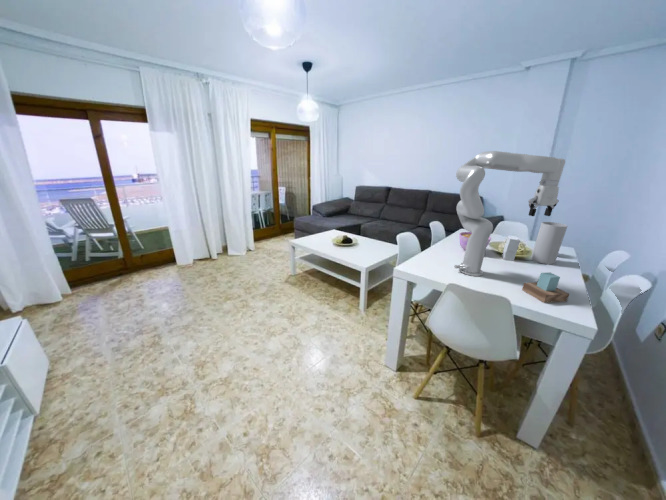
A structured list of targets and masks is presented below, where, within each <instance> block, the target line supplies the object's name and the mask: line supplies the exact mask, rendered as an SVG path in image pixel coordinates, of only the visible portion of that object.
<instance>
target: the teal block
mask: <svg viewBox="0 0 666 500" xmlns="http://www.w3.org/2000/svg"><path fill="white" fill-rule="evenodd" d="M560 279H561V276H559V275H557V274H555V273H552V272H540V275H539V277H538V280H537V282H538V283H537V286H538V287H539V288H541V289H543V290H545V291H555V290H556V288H558V284H559V282H560Z"/></svg>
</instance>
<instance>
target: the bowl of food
mask: <svg viewBox="0 0 666 500" xmlns="http://www.w3.org/2000/svg"><path fill="white" fill-rule="evenodd" d="M471 234H472V233H471V232H469V231H463V232H459V246H460V248H461V249H462V250H465V251H466V246H467V242H468V239H469V237H470V236H471ZM491 240H492V237H491V236H490V237H489V239H488V242H487V246H486V248H487V247H488V245H489V244H490V242H491Z"/></svg>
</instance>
